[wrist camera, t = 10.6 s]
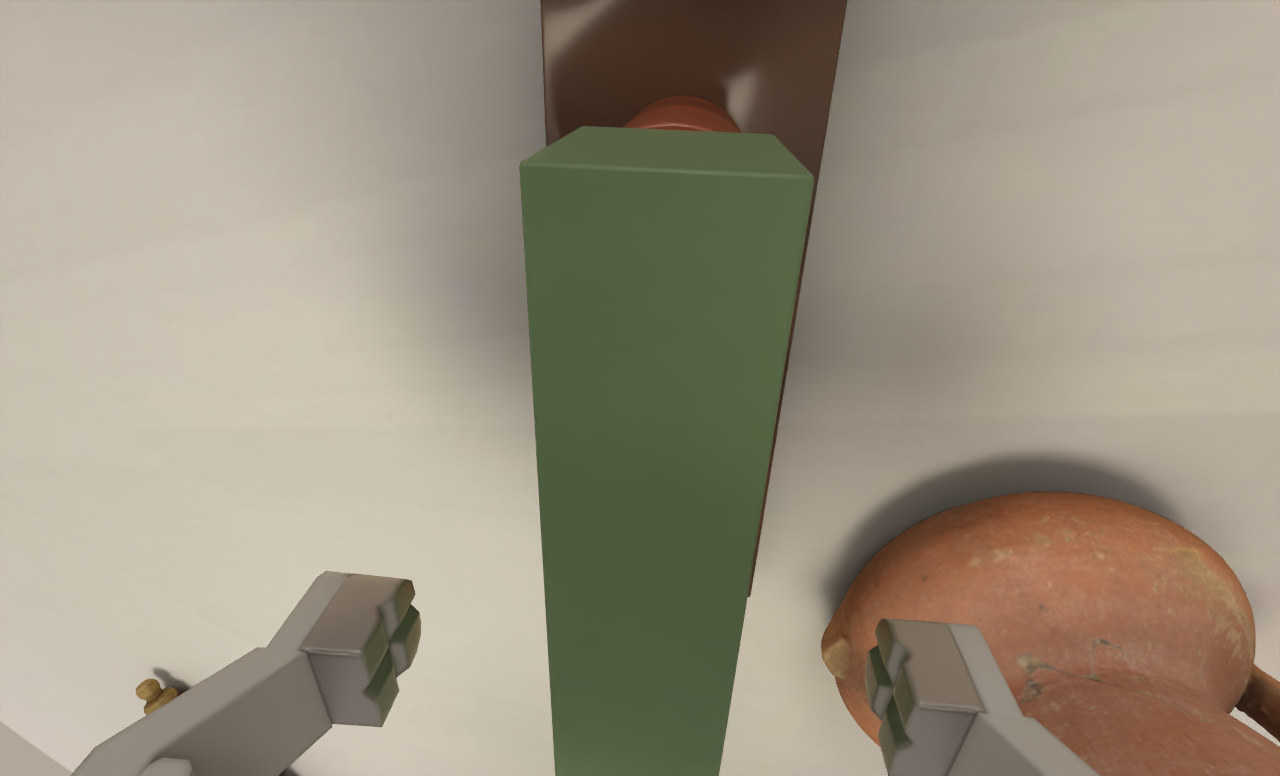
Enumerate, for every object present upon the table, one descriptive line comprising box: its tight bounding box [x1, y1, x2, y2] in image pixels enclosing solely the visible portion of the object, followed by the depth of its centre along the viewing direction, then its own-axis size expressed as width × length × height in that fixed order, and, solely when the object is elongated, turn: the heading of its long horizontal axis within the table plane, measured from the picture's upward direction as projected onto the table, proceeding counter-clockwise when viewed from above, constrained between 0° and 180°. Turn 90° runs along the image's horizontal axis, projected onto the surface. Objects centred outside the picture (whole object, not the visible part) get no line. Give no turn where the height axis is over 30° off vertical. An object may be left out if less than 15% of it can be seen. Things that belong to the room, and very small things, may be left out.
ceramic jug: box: [821, 491, 1280, 776], centre depth 20 cm, size 18×14×14 cm
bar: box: [519, 126, 814, 776], centre depth 12 cm, size 16×3×4 cm, turn 178°
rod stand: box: [541, 0, 847, 597], centre depth 18 cm, size 22×8×10 cm, turn 178°
